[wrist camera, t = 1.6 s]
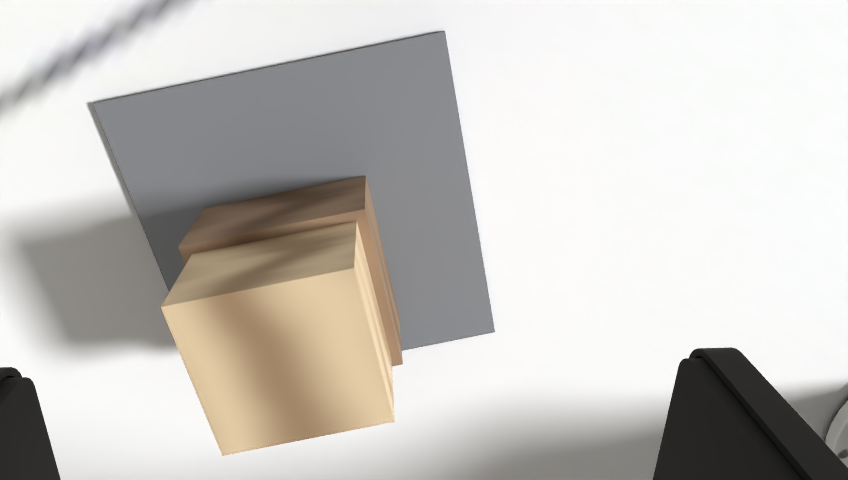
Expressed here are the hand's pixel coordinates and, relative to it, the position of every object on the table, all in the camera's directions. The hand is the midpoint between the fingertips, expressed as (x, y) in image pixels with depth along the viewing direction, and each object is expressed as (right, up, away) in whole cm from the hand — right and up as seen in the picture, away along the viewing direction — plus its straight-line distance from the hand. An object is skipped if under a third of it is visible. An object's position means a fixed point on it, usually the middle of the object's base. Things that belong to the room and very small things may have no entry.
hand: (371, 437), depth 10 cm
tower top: (-6, -1, +23) cm, 23 cm away
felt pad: (-5, +4, +27) cm, 28 cm away
